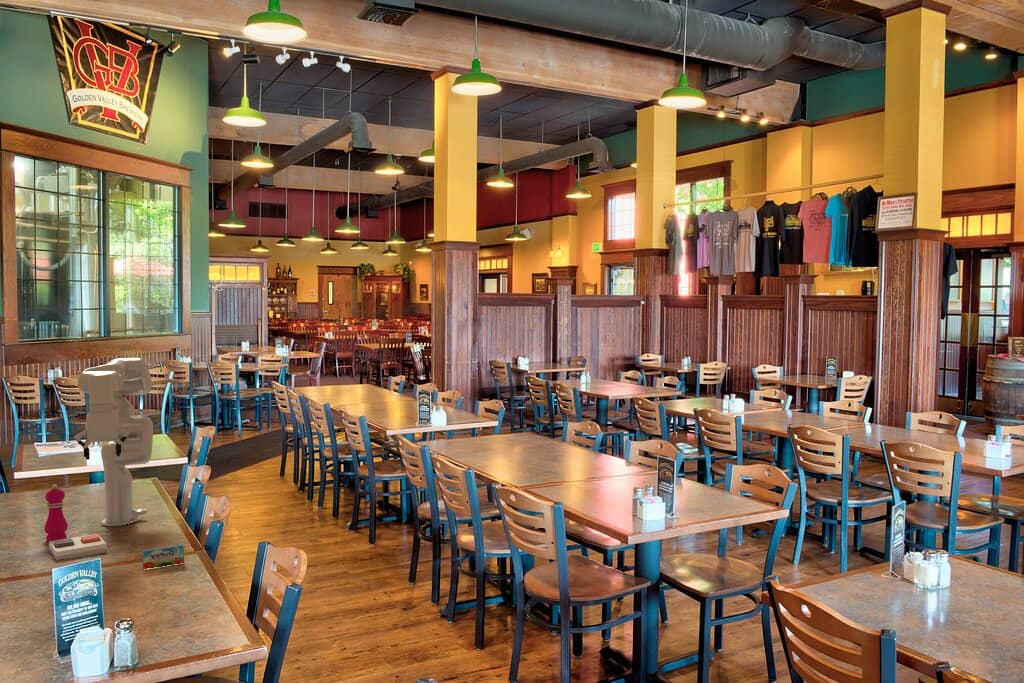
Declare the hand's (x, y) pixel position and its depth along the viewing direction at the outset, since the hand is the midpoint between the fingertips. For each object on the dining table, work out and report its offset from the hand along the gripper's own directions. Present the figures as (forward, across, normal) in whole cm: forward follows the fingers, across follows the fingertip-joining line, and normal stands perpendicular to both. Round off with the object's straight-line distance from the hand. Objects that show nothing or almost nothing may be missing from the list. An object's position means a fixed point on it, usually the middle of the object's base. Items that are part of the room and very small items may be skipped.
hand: (102, 457), depth 282 cm
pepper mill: (+31, +13, -15) cm, 36 cm away
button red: (+29, +5, +5) cm, 30 cm away
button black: (+29, +13, +5) cm, 32 cm away
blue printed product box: (+31, -9, +41) cm, 52 cm away
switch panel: (+30, +10, +5) cm, 32 cm away
